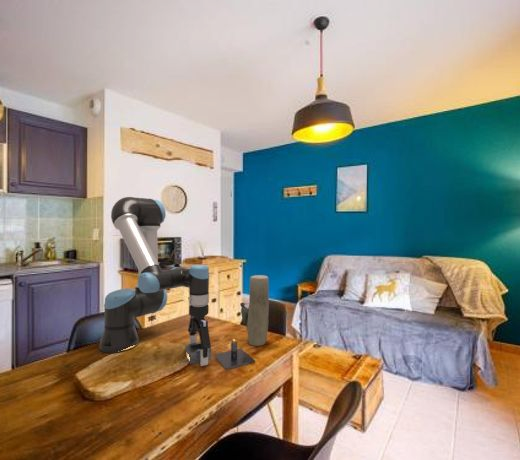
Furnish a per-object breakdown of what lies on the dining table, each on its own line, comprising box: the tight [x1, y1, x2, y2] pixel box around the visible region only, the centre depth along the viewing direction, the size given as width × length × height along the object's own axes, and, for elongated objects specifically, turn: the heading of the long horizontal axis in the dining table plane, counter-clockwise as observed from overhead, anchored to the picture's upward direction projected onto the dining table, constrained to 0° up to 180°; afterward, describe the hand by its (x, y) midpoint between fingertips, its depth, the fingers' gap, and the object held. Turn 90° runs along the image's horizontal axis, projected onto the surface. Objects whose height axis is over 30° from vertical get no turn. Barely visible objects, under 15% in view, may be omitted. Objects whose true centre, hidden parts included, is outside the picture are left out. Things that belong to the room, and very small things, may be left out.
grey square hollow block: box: [184, 341, 212, 365], centre depth 111 cm, size 8×8×4 cm
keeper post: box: [213, 337, 256, 371], centre depth 111 cm, size 12×12×8 cm
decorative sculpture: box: [239, 274, 270, 347], centre depth 128 cm, size 14×10×30 cm
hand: (198, 357), depth 111 cm, fingers open, 13 cm apart
